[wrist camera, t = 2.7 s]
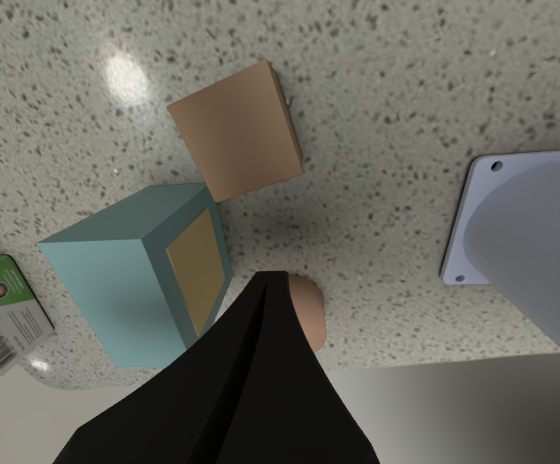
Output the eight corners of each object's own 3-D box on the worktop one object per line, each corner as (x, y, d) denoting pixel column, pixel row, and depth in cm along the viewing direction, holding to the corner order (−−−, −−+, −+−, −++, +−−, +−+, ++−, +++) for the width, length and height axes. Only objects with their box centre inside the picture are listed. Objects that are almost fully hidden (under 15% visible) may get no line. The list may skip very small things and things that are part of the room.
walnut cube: (277, 74, 11) (266, 58, 8) (302, 155, 13) (302, 173, 9) (205, 106, 12) (166, 106, 9) (237, 179, 14) (215, 203, 10)
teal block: (213, 181, 14) (143, 239, 8) (234, 275, 17) (196, 368, 11) (148, 186, 14) (33, 243, 8) (180, 276, 18) (114, 366, 12)
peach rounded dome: (322, 273, 16) (325, 305, 14) (323, 323, 19) (326, 359, 16) (252, 275, 17) (243, 306, 14) (262, 323, 19) (255, 357, 17)
